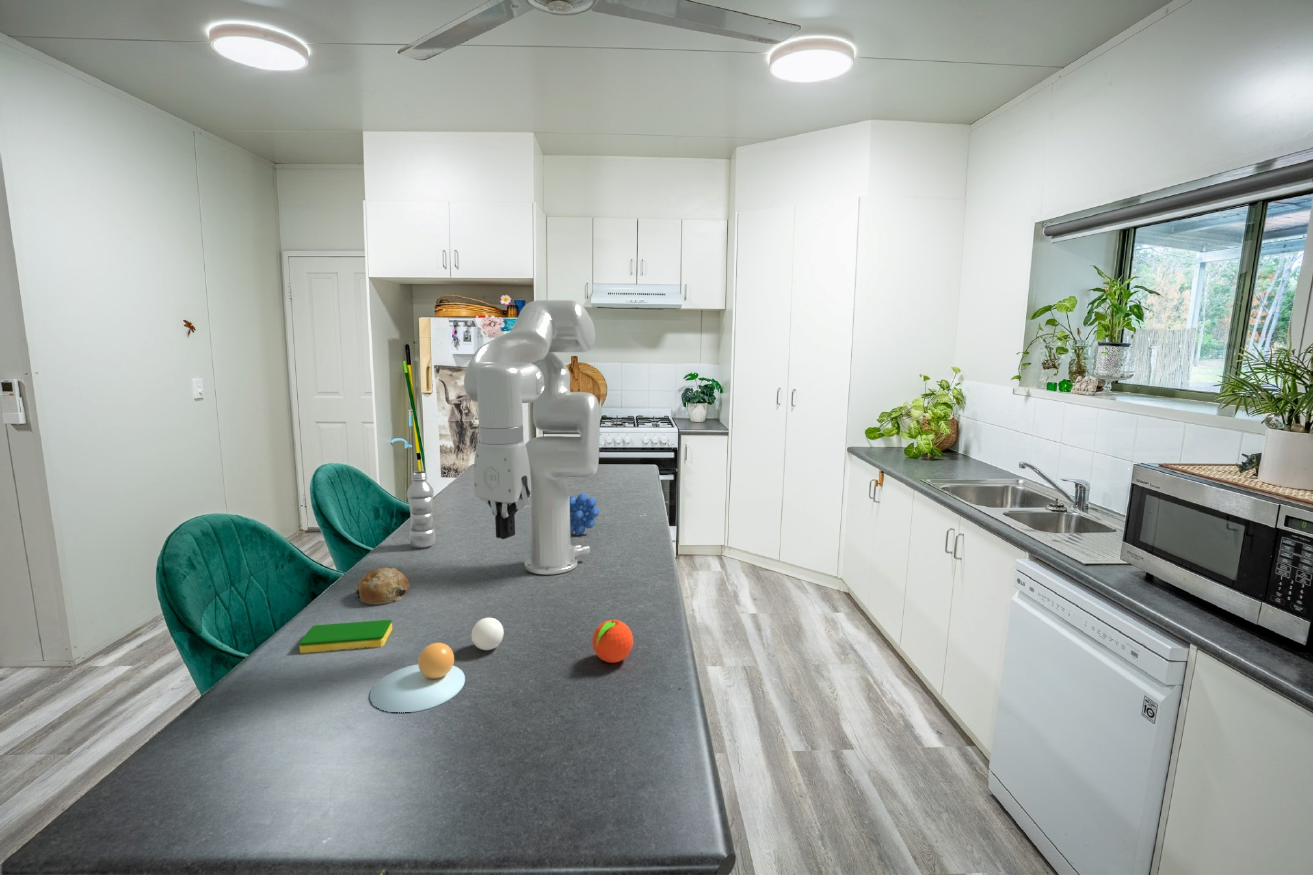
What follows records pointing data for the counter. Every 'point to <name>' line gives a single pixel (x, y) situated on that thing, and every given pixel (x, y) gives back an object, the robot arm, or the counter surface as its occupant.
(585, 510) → the grapes
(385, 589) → the bread roll
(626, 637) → the clementine
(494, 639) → the cue ball
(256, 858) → the counter surface
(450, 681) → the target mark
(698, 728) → the counter surface
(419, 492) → the plastic bottle
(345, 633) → the dish sponge
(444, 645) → the orange ball
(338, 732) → the counter surface
